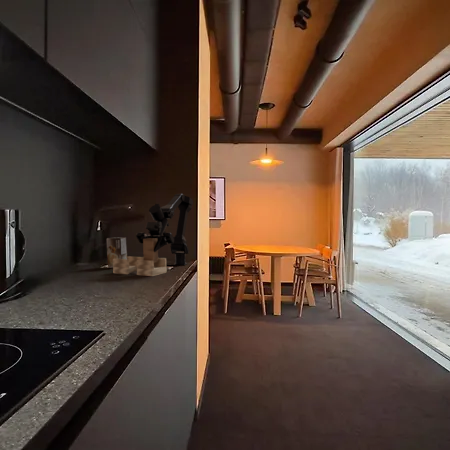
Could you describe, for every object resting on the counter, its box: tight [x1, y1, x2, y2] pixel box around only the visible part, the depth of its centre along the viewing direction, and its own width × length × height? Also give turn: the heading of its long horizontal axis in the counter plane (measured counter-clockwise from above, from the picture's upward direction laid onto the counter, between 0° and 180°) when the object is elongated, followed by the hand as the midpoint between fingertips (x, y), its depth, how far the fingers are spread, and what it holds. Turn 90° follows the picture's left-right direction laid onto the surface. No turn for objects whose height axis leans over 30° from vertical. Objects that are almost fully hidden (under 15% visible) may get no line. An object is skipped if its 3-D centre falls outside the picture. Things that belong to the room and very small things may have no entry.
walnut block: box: [142, 238, 159, 262], centre depth 190 cm, size 5×5×11 cm
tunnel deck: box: [112, 255, 168, 277], centre depth 194 cm, size 24×11×7 cm, turn 64°
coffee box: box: [106, 237, 128, 269], centre depth 215 cm, size 9×6×16 cm
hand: (149, 251), depth 189 cm, fingers closed on walnut block, 5 cm apart
